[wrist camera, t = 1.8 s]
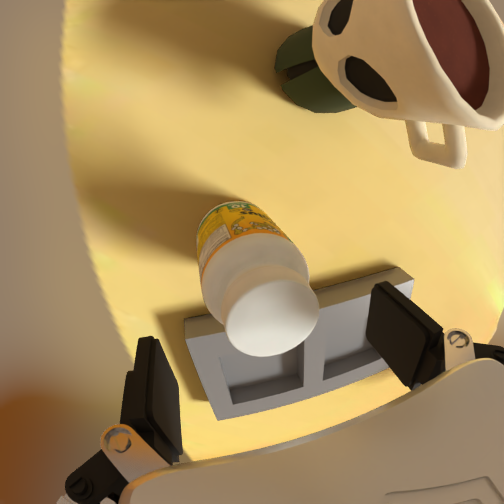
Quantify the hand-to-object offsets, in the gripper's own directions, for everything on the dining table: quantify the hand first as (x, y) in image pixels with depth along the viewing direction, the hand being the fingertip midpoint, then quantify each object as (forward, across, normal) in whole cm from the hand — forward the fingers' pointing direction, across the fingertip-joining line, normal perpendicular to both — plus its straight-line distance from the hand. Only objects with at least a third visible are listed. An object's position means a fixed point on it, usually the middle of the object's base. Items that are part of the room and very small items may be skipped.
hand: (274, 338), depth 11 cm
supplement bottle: (+10, 0, -1) cm, 10 cm away
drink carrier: (+10, -5, +11) cm, 16 cm away
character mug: (+10, -7, -12) cm, 17 cm away
